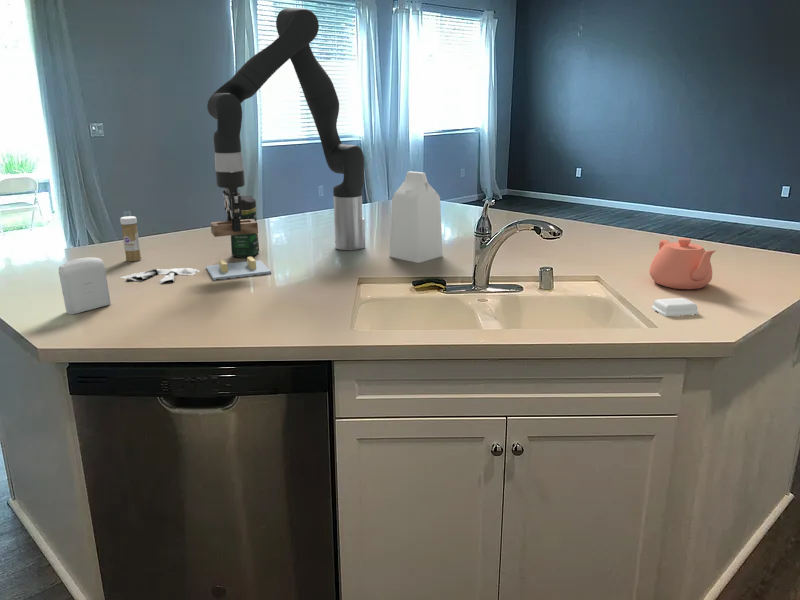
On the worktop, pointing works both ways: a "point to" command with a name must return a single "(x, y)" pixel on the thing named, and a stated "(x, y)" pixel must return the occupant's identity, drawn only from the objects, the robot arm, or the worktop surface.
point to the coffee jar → (246, 242)
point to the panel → (237, 269)
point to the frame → (226, 228)
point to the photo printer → (84, 284)
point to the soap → (674, 307)
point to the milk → (416, 220)
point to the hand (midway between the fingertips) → (234, 229)
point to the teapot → (681, 265)
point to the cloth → (166, 279)
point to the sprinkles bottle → (130, 238)
